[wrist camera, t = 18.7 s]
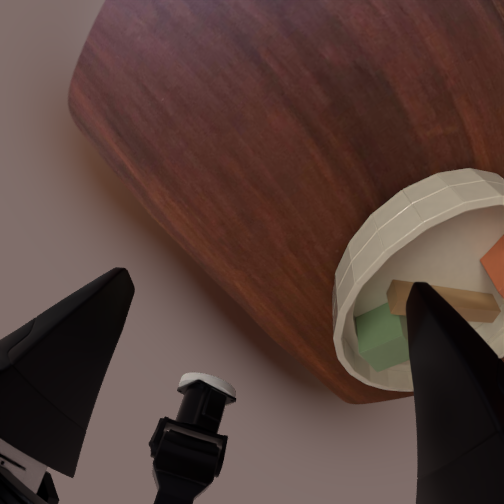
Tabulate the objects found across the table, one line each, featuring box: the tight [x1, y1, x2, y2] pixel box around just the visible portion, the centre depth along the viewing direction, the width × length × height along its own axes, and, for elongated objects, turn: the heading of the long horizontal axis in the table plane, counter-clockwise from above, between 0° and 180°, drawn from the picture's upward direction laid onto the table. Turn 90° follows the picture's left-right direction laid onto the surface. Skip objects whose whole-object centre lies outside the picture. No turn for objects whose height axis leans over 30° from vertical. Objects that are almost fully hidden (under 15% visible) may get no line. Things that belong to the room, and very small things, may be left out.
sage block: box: [356, 302, 410, 372], centre depth 22 cm, size 4×4×4 cm
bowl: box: [332, 168, 504, 392], centre depth 19 cm, size 21×21×5 cm
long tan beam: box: [386, 279, 501, 323], centre depth 20 cm, size 2×12×2 cm, turn 86°
